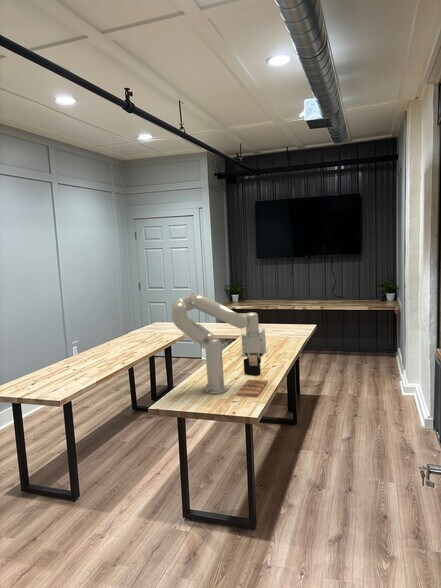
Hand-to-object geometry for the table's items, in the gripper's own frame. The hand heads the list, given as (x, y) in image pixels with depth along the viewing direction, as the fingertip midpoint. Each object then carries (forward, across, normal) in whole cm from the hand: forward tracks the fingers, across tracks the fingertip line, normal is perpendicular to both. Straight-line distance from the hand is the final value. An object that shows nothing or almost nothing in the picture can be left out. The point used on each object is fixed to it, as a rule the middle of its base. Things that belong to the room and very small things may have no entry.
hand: (254, 363), depth 249 cm
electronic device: (+13, +8, -20) cm, 25 cm away
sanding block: (0, 0, 0) cm, 0 cm away
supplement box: (+13, +19, -67) cm, 71 cm away
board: (+13, 0, +7) cm, 15 cm away
